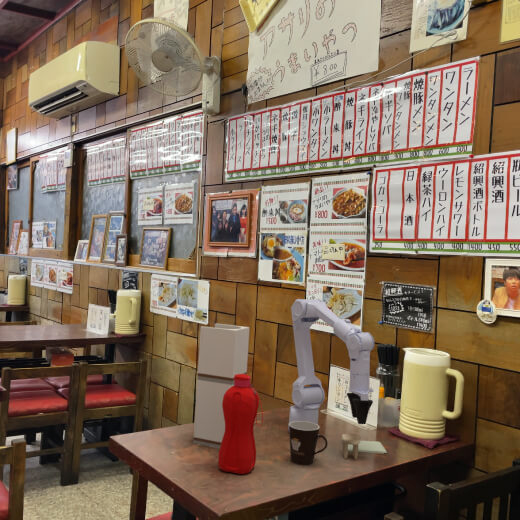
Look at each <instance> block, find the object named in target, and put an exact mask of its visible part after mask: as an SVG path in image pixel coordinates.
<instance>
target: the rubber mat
mask: <svg viewBox="0 0 520 520" xmlns="http://www.w3.org/2000/svg"><path fill="white" fill-rule="evenodd" d="M348 452H353V445H350V444H348ZM358 453H369V454H384V453H388V451H387V450H386V448H385V447H384V446H383V444H382V443H381V441H374V440H373V441H372V440H360V443H359V444H358Z"/></svg>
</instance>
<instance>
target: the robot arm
mask: <svg viewBox="0 0 520 520" xmlns="http://www.w3.org/2000/svg"><path fill="white" fill-rule="evenodd" d="M290 310H291V319H292V330H293V338H294V345H295V346H294V347H295V356H296V365H297V366H296V367H297V374H298V377H297V378H296V380H295V381H294V382H293V383H292V393H291V399H292V402H293V404H294V405H290V407H289V418H288V424H287V425H288V426H287V428H288V429H287V430H289V423H291V422H294V421H307V422H312V423H315V424H317V425H319V424H318V423H319V408H321V405H322V404H323V403H324V401H325V394H326V393H325V390H324V387H323V386H322V381H321V380H320V379H319V378H318V377H317V376H316V374H315V373H316V372H315V366H314V358H313V357H314V355H313V349H312V339H311V332H310V329H311V327H312V325H314V324H316V323H317V322H318V321H319V320H322V321H323V322H324V323H326V324H327V325H329V326H330V327H331V328H332V331H333V334H334V335H335V336H336V337H338V338H339V339H340V340H342V342H343V343H345V345H346V348H347V351H348V358H349V362H350V363H349V388H348V392H347V393H346V396H347V398H348V401H349V403H350V410H351V411H350V412H351V416H352V418H353V419H355V418H356V422H357V424H358V425H366V423H367V420H368V415H369V412H370V408H371V406H372V405H373V403H374V400H372V399H369V394H370V393H374V389H373V388H370V377H371V376H370V374H371V373H370V369H371V368H370V366H371V364H370V363H371V362H370V361H371V351H372V350H373V349H374V348H375V339H374V336H373V335H372V334H371V333H370V332H368V331H366V332H363V331H362V330H361V328H359V327H357V326H355V325H354V324H353V323H351V322H352V321H351V319H349V318H347V319H346V318H341V319H340V318H339V317H338V316H337V315H336V314H335V312H333V311H332V310H331V309H330V307H329V308H328V306H327V303H326V302H325V301H323V300H322V299H319V298H316V299H304V298H303V299H302V298H297V299H295V300H294V302H293V304H292V305H291V307H290ZM318 435H320V434H319V433H318Z"/></svg>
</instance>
